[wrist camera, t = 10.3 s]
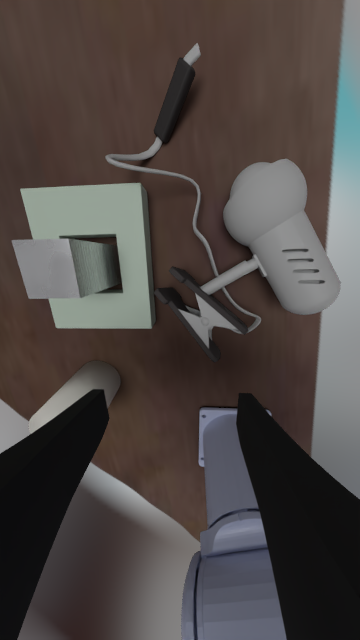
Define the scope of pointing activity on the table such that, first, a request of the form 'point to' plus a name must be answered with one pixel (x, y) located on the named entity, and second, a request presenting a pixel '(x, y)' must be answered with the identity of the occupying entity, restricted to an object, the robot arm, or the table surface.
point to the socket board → (100, 221)
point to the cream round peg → (78, 391)
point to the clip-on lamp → (247, 233)
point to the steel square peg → (66, 267)
